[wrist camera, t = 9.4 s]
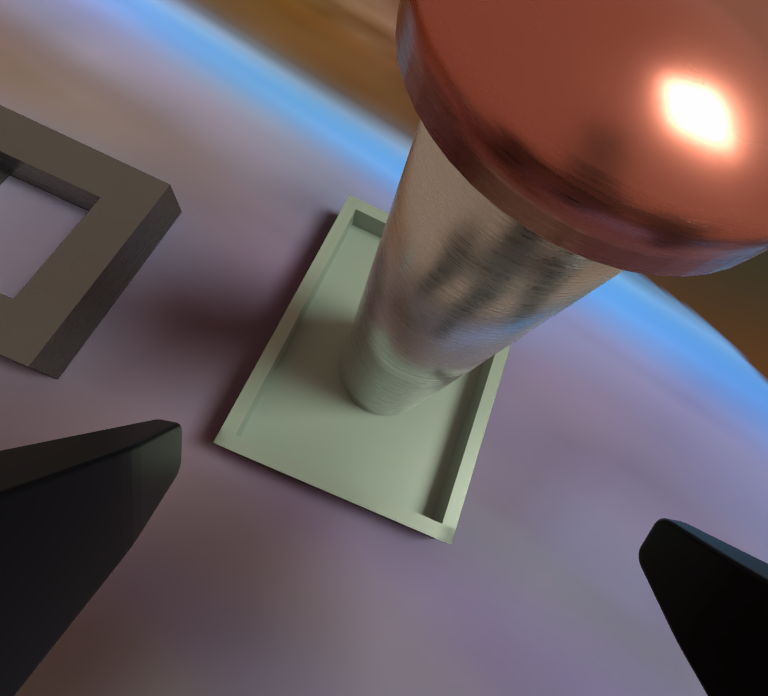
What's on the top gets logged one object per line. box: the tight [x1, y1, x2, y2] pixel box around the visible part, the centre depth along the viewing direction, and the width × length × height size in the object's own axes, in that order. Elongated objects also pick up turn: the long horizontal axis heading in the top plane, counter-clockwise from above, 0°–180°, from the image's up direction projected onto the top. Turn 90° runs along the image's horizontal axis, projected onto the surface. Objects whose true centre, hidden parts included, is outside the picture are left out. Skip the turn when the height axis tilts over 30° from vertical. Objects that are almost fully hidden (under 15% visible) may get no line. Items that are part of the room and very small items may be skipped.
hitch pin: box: [340, 0, 768, 416], centre depth 12 cm, size 6×6×16 cm
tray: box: [213, 195, 511, 545], centre depth 19 cm, size 13×10×2 cm
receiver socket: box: [0, 105, 181, 379], centre depth 17 cm, size 9×9×2 cm
